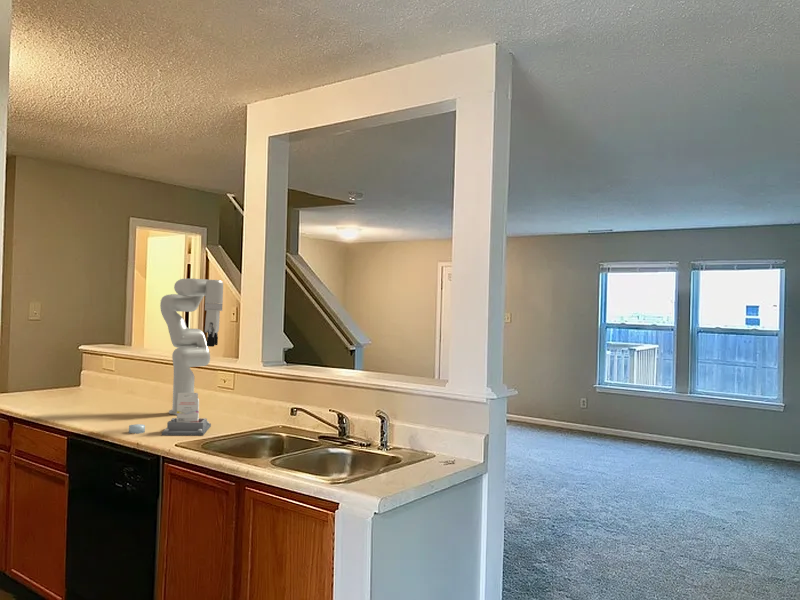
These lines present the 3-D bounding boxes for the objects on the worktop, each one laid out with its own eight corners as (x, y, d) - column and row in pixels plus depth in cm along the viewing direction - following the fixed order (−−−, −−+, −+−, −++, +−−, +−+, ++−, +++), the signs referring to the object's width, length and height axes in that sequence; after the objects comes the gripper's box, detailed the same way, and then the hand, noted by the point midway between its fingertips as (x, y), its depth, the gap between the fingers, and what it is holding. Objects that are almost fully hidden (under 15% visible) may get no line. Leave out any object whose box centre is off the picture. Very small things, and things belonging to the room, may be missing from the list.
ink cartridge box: (198, 426, 266) (200, 391, 267) (197, 428, 262) (198, 392, 262) (177, 426, 265) (178, 391, 265) (175, 428, 260) (177, 392, 260)
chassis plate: (172, 425, 271) (172, 416, 271) (210, 426, 273) (211, 416, 273) (161, 435, 251) (162, 424, 251) (203, 435, 254) (203, 425, 254)
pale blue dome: (131, 431, 258) (131, 424, 258) (146, 431, 259) (146, 424, 259) (126, 434, 252) (127, 427, 252) (142, 434, 253) (142, 427, 253)
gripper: (208, 307, 290) (206, 344, 289) (201, 307, 273) (200, 346, 272) (224, 307, 291) (223, 344, 291) (219, 307, 274) (217, 347, 273)
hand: (212, 345), depth 281 cm, fingers open, 9 cm apart
